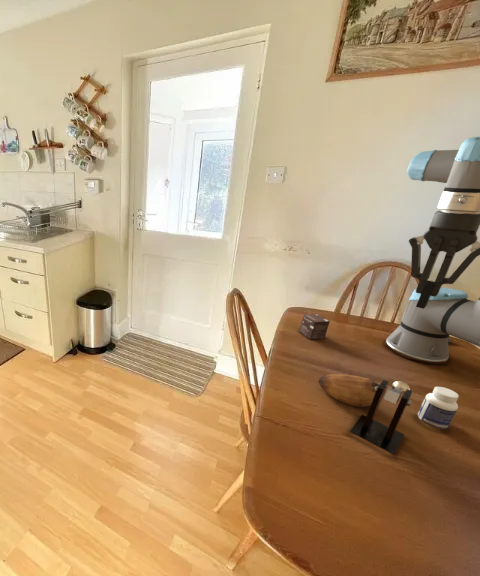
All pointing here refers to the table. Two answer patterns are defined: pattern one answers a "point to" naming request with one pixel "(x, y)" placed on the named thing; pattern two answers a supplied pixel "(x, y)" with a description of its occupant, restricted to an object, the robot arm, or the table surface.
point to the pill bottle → (439, 407)
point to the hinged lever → (395, 391)
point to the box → (314, 326)
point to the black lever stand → (379, 432)
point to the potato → (349, 388)
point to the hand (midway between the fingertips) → (421, 306)
